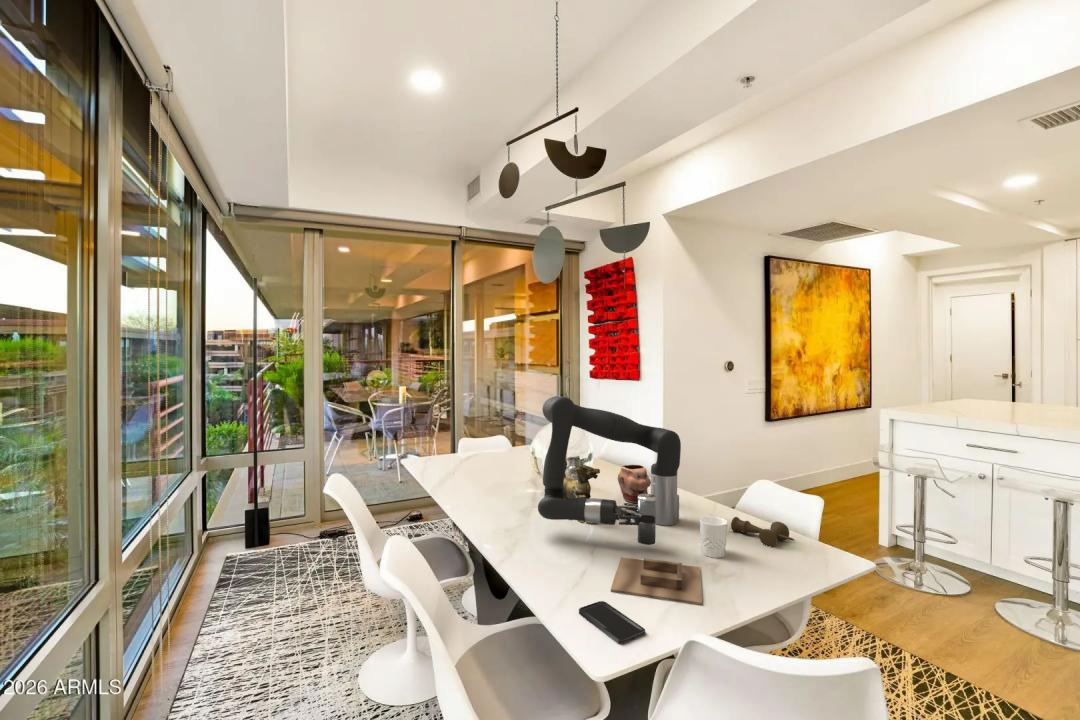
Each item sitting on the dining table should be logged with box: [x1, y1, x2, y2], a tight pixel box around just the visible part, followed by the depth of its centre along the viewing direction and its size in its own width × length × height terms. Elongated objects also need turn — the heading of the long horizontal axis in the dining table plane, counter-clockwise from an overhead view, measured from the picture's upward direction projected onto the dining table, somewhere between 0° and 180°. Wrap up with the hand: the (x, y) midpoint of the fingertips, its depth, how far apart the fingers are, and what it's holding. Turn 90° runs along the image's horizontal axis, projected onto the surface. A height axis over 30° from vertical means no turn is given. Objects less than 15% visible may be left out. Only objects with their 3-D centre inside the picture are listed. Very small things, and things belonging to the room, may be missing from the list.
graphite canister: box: [637, 493, 657, 546], centre depth 148 cm, size 6×6×14 cm
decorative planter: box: [617, 464, 651, 504], centre depth 198 cm, size 20×12×14 cm, turn 22°
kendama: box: [730, 516, 795, 548], centre depth 156 cm, size 6×10×20 cm
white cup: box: [699, 515, 728, 559], centre depth 145 cm, size 8×8×10 cm
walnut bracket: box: [610, 556, 703, 606], centre depth 127 cm, size 22×20×3 cm
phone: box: [578, 600, 646, 645], centre depth 107 cm, size 8×1×15 cm
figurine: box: [563, 460, 601, 525], centre depth 179 cm, size 13×25×20 cm, turn 31°
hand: (655, 516), depth 147 cm, fingers closed on graphite canister, 5 cm apart
